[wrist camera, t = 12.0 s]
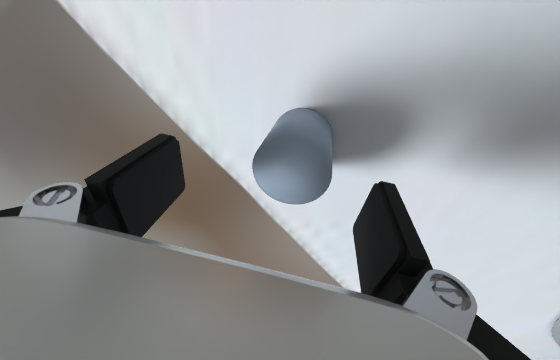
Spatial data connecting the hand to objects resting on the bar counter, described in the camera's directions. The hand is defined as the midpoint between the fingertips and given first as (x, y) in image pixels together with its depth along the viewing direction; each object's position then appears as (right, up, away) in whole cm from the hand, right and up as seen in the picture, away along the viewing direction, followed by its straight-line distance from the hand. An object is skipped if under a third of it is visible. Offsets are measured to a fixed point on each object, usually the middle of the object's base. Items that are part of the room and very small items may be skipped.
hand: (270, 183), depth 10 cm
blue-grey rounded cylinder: (+2, +3, +6) cm, 7 cm away
